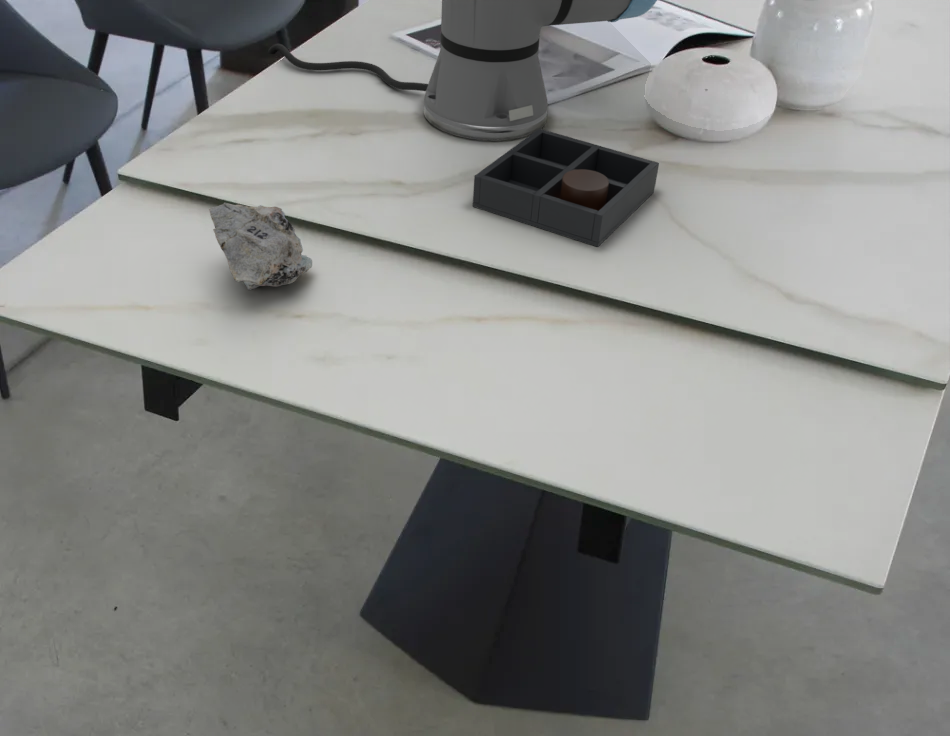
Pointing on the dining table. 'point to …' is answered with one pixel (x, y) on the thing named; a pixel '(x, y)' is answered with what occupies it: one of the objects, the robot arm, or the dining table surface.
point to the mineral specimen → (259, 245)
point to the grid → (540, 178)
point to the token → (585, 188)
